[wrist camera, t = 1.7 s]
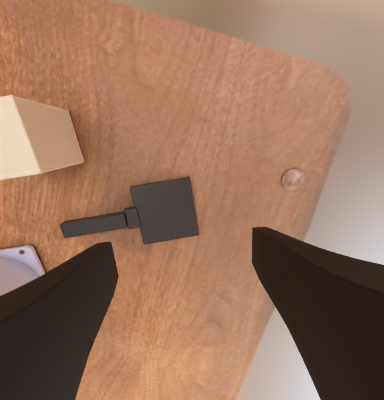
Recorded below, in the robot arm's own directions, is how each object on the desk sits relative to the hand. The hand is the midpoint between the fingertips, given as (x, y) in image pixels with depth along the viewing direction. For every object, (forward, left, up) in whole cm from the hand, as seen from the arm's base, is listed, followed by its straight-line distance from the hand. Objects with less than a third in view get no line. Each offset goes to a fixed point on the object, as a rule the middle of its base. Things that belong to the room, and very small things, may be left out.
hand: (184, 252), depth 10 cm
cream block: (-10, +7, -10) cm, 16 cm away
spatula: (-5, -1, -10) cm, 11 cm away
